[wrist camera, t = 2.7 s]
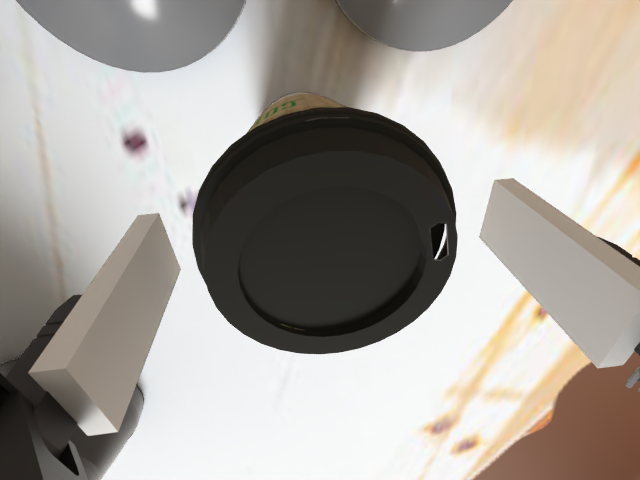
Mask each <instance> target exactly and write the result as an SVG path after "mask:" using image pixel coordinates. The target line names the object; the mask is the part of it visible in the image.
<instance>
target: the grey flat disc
mask: <svg viewBox="0 0 640 480" xmlns="http://www.w3.org/2000/svg"><path fill="white" fill-rule="evenodd" d="M16 1H17V2H18V3H19V4H20V5H21V7H22V8H23V9H24V10H25V11H26V12H27V13H28V14H29V15H31V16H32V17H33V18H34V19H35V20H36V21H37V22H38V23H39V24H40V25H41V26H42V27H44V28H45V29H46V30H48V31H49V32H50V33H51V34H53V35H54V36H55V37H57V38H58V39H59V40H61V41H62V42H64V43H65V44H67V45H68V46H70V47H72V48H73V49H75V50H76V51H78V52H80V53H82V54H84V55H86V56H88V57H90V58H92V59H94V60H96V61H99V62H102V63H104V64H107V65H109V66H113V67H117V68H121V69H124V70H129V71H137V72H163V71H170V70H175V69H178V68H181V67H184V66H187V65H189V64H191V63H193V62H195V61H197V60H199V59H201V58H203V57H205V56H206V55H207V54H209V53H210V52H211V51H213V50H214V49H215V48H216V47H217V46H218V45H219V44H220V43H221V42H223V41H224V40H225V38H226V37H227V36H228V34H229V33H230V32H231V30H232V29H233V28H234V26H235V24H236V22H237V20H238V19H239V17H240V15H241V13H242V10H243V8H244V5H245V3H246V0H16Z"/></svg>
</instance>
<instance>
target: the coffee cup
mask: <svg viewBox="0 0 640 480" xmlns="http://www.w3.org/2000/svg"><path fill="white" fill-rule="evenodd" d="M445 224H446V234H447V236H446V239H445V243H444V246H443V248H442V250H441V252H440V254H439V256H438V258H437V259H434V258H435V256H436V254H437V252H438V250H439V248H440V244H441V240H442V237H443V233H444V227H445ZM455 224H456V210H455V203H454V197H453V191H452V188H451V186H450V183H449V181H448V179H447V176H446V174H445V172H444V169H443V168H442V166H441V164H440V162H439V160H438V159H437V158H436V156H435V155H434V154H433V153H432V151H431V150H430V149H429V147H428V146H427V145H426V143H425V142H424V141H423V140H421V139H420V138H419V137H417V136H416V135H415V134H414V133H412V132H411V131H410V130H409V129H407V128H406V127H405V126H403V125H401V124H399V123H397V122H395V121H393V120H391V119H388V118H386V117H384V116H382V115H380V114H378V113H373V112H368V111H363V110H359V109H354V108H349V107H345V106H343V105H341V104H339V103H337V102H335V101H333V100H330V99H328V98H326V97H323V96H318V95H316V94H311V93H307V92H296V93H292V94H287V95H285V96H283V97H281V98H279V99H278V100H276V101H275V102H274V103H272V104H271V105H270V107H269V108H267V109H266V110H265V111H264V112H263V113H262V114H261V116H260V117H259V118H258V119H257V120H256V122H255V123H254V124H253V126H252V127H251V128H250V130H249V131H248V132H247V134H246V135H244V136H243V137H241V138H240V139H239V140H237V141H236V142H235V143H233V144H232V145H231V146H230V147H229V148H228V149H227V150H226V151H225V152H224V154H223V155H222V156H221V157H220V158H219V159H218V160H217V161H216V163H215V164H214V165H213V166H212V168H211V169H210V171H209V173H208V175H207V177H206V179H205V180H204V182H203V184H202V186H201V188H200V190H199V193H198V197H197V201H196V205H195V208H194V212H193V249H194V253H195V257H196V261H197V266H198V269H199V271H200V273H201V275H202V277H203V279H204V281H205V283H206V285H207V288H208V291H209V293H210V295H211V297H212V299H213V301H214V303H215V305H216V307H217V309H218V310H219V311H220V312H221V313H222V315H223V316H224V317H225V318H226V319H227V321H228V322H229V323H230V324H232V325H233V326H234V327H235V328H237V329H238V330H239V331H240V332H242V333H243V334H244V335H246V336H248V337H250V338H252V339H254V340H256V341H258V342H259V343H261V344H264V345H267V346H270V347H273V348H276V349H279V350H284V351H290V352H295V353H304V354H327V353H339V352H344V351H349V350H353V349H358V348H362V347H364V346H367V345H370V344H373V343H376V342H379V341H381V340H383V339H385V338H387V337H389V336H391V335H393V334H395V333H397V332H398V331H400V330H401V329H403V328H404V327H406V326H407V325H409V324H410V323H412V322H413V321H414V320H416V319H417V318H418V317H419V316H420V315H421V314H422V313H423V312H424V311H426V310H427V309H428V308H429V307H430V305H431V304H432V303H433V302H434V300H435V299H436V298H437V297H438V295H439V294H440V293H441V291H442V289H443V288H444V286H445V284H446V282H447V280H448V278H449V277H450V274H451V271H452V268H453V265H454V262H455V258H456V250H457V231H456V226H455Z"/></svg>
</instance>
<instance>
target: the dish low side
mask: <svg viewBox="0 0 640 480" xmlns="http://www.w3.org/2000/svg"><path fill="white" fill-rule="evenodd" d="M335 1H336V3H337V4H338V6H339V8H340V9H341V10H342V11H343V13H344V14H345V15H346V17H347V18H348V19H349V20H350V21H351V22H352V23H353V24H354V25H355V26H356V27H357V28H358V29H359V30H360V31H362V32H363V33H364V34H366V35H367V36H368V37H370V38H372V39H374V40H375V41H377V42H379V43H381V44H384V45H387V46H390V47H393V48H397V49H402V50H408V51H431V50H438V49H442V48H445V47H449V46H452V45H455V44H457V43H459V42H461V41H463V40H466V39H468V38H469V37H471V36H472V35H474V34H476V33H477V32H479V31H481V30H482V29H483V28H484V27H486V26H487V25H488V24H490V23H491V22H492V21H493V20H494V19H495V18H496V17H498V16H499V15H500V14H501V13H502V12H503V11H504V10H505V9H506V8H507V7H508V5H509V4H510V3H511V2H512V1H513V0H335Z"/></svg>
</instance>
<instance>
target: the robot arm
mask: <svg viewBox="0 0 640 480" xmlns="http://www.w3.org/2000/svg"><path fill="white" fill-rule="evenodd" d="M479 237H480V239H481V240H482V241H483V242H484V243H485V244H486V245H487V246H488V247H489V249H490V250H491V251H492V252H493V253H494V254H495V255H496V256H497V257H498V259H499V260H500V261H501V262H502V263H503V264H504V265H505V266H506V267H507V268H508V270H509V271H510V272H511V273H512V274H513V275H514V276H515V277H516V278H517V280H518V281H519V282H520V283H521V284H522V285H523V286H524V287H525V288H526V290H527V291H528V292H529V293H530V294H531V295H532V296H533V297H534V298H535V299H536V301H537V302H538V303H539V304H540V305H541V306H542V307H543V308H544V309H545V311H546V312H547V313H548V314H549V315H550V316H551V317H552V318H553V319H554V321H555V322H556V323H557V324H558V325H559V326H560V327H561V328H562V329H563V330H564V332H565V333H566V334H567V335H568V336H569V337H570V338H571V339H572V340H573V342H574V343H575V344H576V345H577V346H578V347H579V348H580V349H581V350H582V351H583V353H584V354H585V355H586V356H587V357H588V358H589V359H590V360H591V361H592V363H593V364H594V365H595V366H596V367H597V368H603V367H611V366H618V365H624V363H625V362H626V361H627V359H628V358H629V357H630V356H631V354H632V353H633V352H634V350H635V351H636V352H637V353H638V354H639V355H640V260H638V259H637V258H635V257H634V258H633V257H632V255H631V254H629V253H628V252H626V251H625V250H624V249H622V248H621V247H619V246H618V245H616V244H613V243H611V242H609V241H607V240H604V239H602V238H600V237H596V236H595V235H593V234H592V233H591V232H589V231H588V230H586V229H585V228H583V227H582V226H581V225H579V224H578V223H576V222H575V221H573V220H572V219H571V218H569V217H568V216H566V215H565V214H563V213H562V212H560V211H559V210H558V209H556V208H555V207H553V206H552V205H550V204H549V203H548V202H546V201H545V200H543V199H542V198H540V197H539V196H538V195H536V194H535V193H533V192H532V191H530V190H529V189H527V188H526V187H525V186H523V185H522V184H520V183H519V182H517V181H516V180H515V179H513V178H511V179H501V180H494V183H493V187H492V191H491V195H490V199H489V202H488V206H487V210H486V214H485V217H484V221H483V225H482V229H481V232H480V236H479ZM180 270H181V269H180V266H179V264H178V261H177V259H176V256H175V254H174V251H173V248H172V246H171V243H170V241H169V238H168V235H167V233H166V230H165V228H164V225H163V222H162V220H161V217H160V215H159V213H157V214H147V215H138V216H137V218H136V219H135V221H134V222H133V224H132V225H131V226H130V228H129V229H128V231H127V232H126V234H125V235H124V236H123V238H122V239H121V241H120V242H119V244H118V245H117V246H116V248H115V249H114V251H113V252H112V254H111V255H110V256H109V258H108V259H107V261H106V262H105V264H104V265H103V266H102V268H101V269H100V271H99V272H98V274H97V275H96V276H95V278H94V279H93V281H92V282H91V284H90V285H89V286H88V288H87V289H86V291H85V292H84V294H83V295H74V296H72V297H71V298H70V299H68V300H67V301H66V302H65V303H64V304H62V305H61V306H60V307H59V308H57V309H56V311H55V312H54V313H53V315H52V316H51V317H50V319H49V320H48V321H47V323H46V326H44V327H43V328H42V329H41V331H40V332H39V333H38V335H37V338H36V339H34V340H33V341H32V343H31V344H30V345H29V346H28V348H27V349H26V350H25V352H24V353H23V354H22V356H21V357H20V358H19V359H18V360H14V361H11V362H8V363H6V364H3V365H1V366H0V480H101V479H102V477H103V476H104V474H105V473H106V471H107V470H108V468H109V467H110V466H111V464H112V463H113V461H114V460H115V458H116V457H117V455H118V454H119V452H120V451H121V449H122V448H123V446H124V445H125V443H126V442H127V440H128V439H129V438H130V437H131V435H132V434H133V432H134V431H135V429H136V427H137V424H138V421H139V418H140V415H141V412H142V409H143V405H144V401H143V397H142V394H141V392H140V390H139V389H138V387H137V386H136V384H137V382H138V379H139V377H140V374H141V371H142V369H143V366H144V364H145V361H146V358H147V356H148V353H149V351H150V348H151V345H152V343H153V340H154V338H155V335H156V332H157V330H158V327H159V325H160V322H161V319H162V317H163V314H164V312H165V309H166V306H167V304H168V301H169V299H170V296H171V293H172V291H173V288H174V286H175V283H176V280H177V278H178V275H179V273H180ZM636 381H640V366H639V367H638V368H637V370H635V372H634V373H633V374H632V375H631V377H630V378H629V379H628V381H627V383H626V387H629V388H631V387H632V386H633V385H634V383H635V382H636ZM638 391H639V392H640V388H639V390H638Z"/></svg>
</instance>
